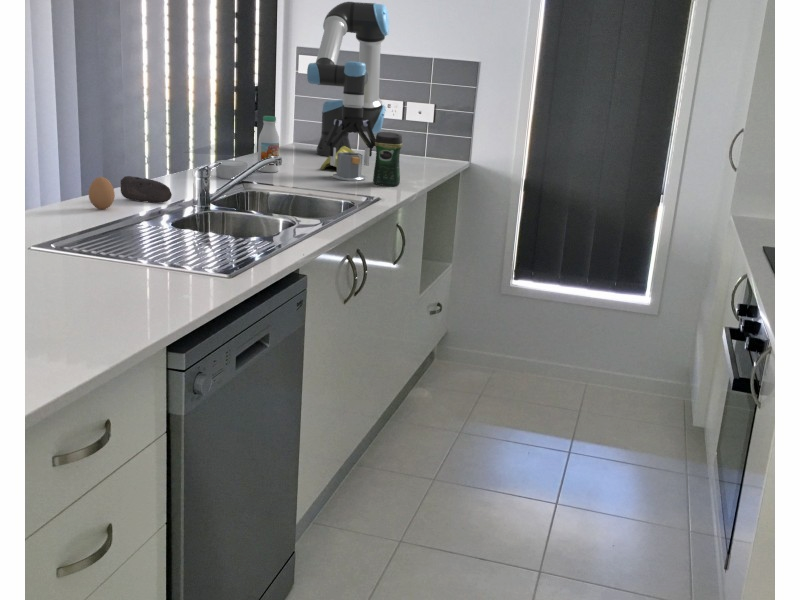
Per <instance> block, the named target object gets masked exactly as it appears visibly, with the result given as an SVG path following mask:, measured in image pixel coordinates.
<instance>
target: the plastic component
mask: <svg viewBox="0 0 800 600" xmlns="http://www.w3.org/2000/svg"><path fill="white" fill-rule="evenodd" d="M340 152H351V153H356V151H354V150H352V148H351V149H349V148H347V147H346V146H343V147H341V148H340V150H339V151H338V152H337V153H336V158H335V166H334V167H335V168H337V154H338V153H340ZM330 159H331V156H327V158H326V160H325V161H324V163H322V165H321V167H320V169H321V170H325V169H326V168H327V167H329V166H331V165H330Z"/></svg>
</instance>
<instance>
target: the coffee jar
mask: <svg viewBox="0 0 800 600" xmlns="http://www.w3.org/2000/svg"><path fill="white" fill-rule="evenodd" d="M375 139H376V140H375V146H374V147H375V162H374V170H373V177H372V183H374V185H379V186H386V187H389V186H391V187H393V186H399V185H400V183H401V171H400V170H401V169H400V153H401V149H402V147H403V136H402V134H401V133H399V132H398V133H397V132H391V131H380V132H379V133H376V136H375Z"/></svg>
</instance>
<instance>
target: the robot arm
mask: <svg viewBox="0 0 800 600" xmlns="http://www.w3.org/2000/svg"><path fill="white" fill-rule="evenodd" d="M389 20H390V19H389V11H388V8H387V6H386V5H385V4H382V3H376V2H373V3H372V2H359V1H358V2H357V1H355V2H354V1H344V2H341V3H339V4H337V5H336V6H334V7H333V8H331V10H329V12H327V14H326V16H325V18H324V21H323V23H322V28H323V34H322V38H321V41H320V46H319V49H318V52H317V57H316V61H315V62H309V63H308V65H307V69H306V70H307V71H306V80H307V82H308V83H309V84H311V85H318V86H333V87H341V88H343V92H342V99H332V100H331V99H330V100H326V101H324V102H323V104H322V111H321V113H322V114H321V116H322V117H321V136H320V137H319V141H318V143H317V146H316V154H317V155H319V156H324V157H329V156H331V159H330V165H329V166H333V167H335V158H336V153H337V152H338V151H339V150H340V148H341V147H343V146H346V147H347V148H349V149H351V150H352V146H351V143H350V139H349V135H350V133H354V134H355V133H357V134H358V135H359V137H360V138H361V140H362V141H363V142H364V144H365V147H364V157H363V165H364V166H367V167H369V166H370V157H372V154H373V149H374V147H376V146H375V140H376V136H375V135H374V134H377V133H379V132H382V128H383V123H384V120H385V119H384V118H385V113H386V108H387V107H386V106H385V105H383V100H381V98H380V95H379V94H380V79H381V78H380V77H381V76H380V75H381V71H380V70H381V47H382V42H384V41H385V38H386V37H387V36H389V32H390V28H389V27H390V26H389V25H390V23H389V22H390V21H389ZM347 33H351V34H355V39H356V41H358V42H359V47H358V48H359V49H358V50H359V51H358V52H359V53H358V54H359V56H358V57H359V59H358V61H346V62H345V63H344V65H341V64H337V63H338V59H339V55H340V50H341V46H342V43H343V39H344V38H343V37H344V36H346V34H347ZM366 133H367V135H366ZM367 136H368V137H367Z"/></svg>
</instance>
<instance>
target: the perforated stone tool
mask: <svg viewBox="0 0 800 600" xmlns="http://www.w3.org/2000/svg"><path fill="white" fill-rule="evenodd" d="M120 194H121V195H122V197H123V198H125V199H128V200H132V201H135V200H139V201H138V202H142V201H148V202H147V203H154V202H162V203H167V202H169V201H170V200H171V199H172V195H173V194H172V191H171V189H170V187H169V186H168V185H166V184H164V183H163V182H160V181H157V180H154V179H150V178H146V177H144V178H142V177H137V176H132V175H131V176H130V175H127V176H124V177H123V178H121V179H120Z"/></svg>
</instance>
